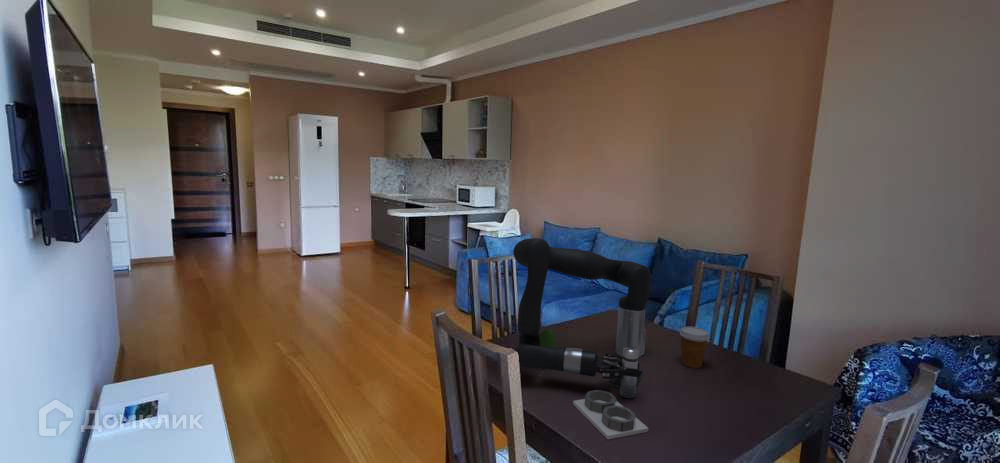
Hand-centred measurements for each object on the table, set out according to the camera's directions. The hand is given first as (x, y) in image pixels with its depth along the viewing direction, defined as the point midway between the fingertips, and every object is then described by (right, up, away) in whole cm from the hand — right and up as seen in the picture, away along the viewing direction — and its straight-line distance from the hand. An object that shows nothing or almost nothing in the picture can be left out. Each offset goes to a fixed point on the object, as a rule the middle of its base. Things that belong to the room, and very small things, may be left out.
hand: (639, 369), depth 138 cm
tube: (-3, -8, +2) cm, 8 cm away
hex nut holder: (-11, -10, -10) cm, 18 cm away
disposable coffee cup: (+26, -6, +26) cm, 37 cm away
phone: (0, -7, +12) cm, 14 cm away
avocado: (-25, -5, +22) cm, 34 cm away
